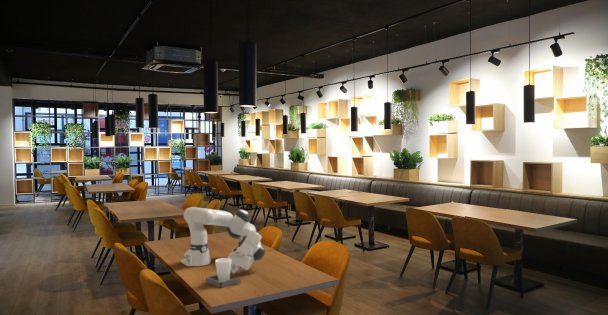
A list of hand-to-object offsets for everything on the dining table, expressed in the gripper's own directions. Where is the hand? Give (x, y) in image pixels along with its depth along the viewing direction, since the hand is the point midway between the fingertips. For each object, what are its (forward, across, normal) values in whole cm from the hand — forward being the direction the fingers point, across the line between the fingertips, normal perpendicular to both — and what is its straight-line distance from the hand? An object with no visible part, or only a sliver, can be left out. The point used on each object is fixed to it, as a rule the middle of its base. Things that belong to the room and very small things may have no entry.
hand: (231, 272), depth 251 cm
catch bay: (+7, 0, +1) cm, 7 cm away
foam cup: (+7, +1, 0) cm, 7 cm away
